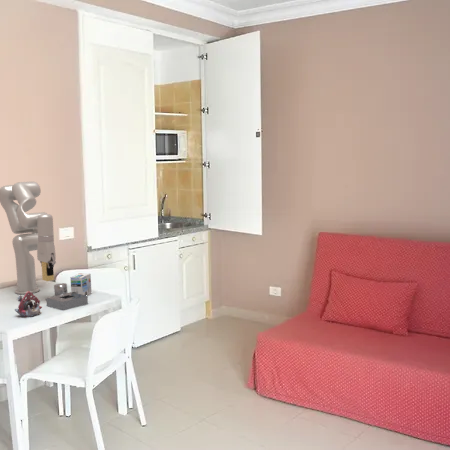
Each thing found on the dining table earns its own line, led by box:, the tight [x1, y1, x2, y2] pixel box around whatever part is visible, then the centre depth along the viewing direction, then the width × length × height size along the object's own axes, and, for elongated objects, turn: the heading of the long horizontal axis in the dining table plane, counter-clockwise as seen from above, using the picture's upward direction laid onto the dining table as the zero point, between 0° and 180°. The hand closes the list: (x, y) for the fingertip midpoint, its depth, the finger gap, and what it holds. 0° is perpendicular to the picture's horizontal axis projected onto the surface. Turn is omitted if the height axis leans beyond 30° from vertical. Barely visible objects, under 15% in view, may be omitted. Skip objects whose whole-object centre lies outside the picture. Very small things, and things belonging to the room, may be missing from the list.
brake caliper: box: [14, 291, 43, 318], centre depth 255 cm, size 11×11×12 cm
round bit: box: [53, 282, 69, 296], centre depth 290 cm, size 6×6×6 cm
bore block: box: [45, 291, 89, 311], centre depth 271 cm, size 14×14×4 cm
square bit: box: [41, 260, 55, 282], centre depth 280 cm, size 4×4×11 cm
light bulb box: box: [69, 273, 92, 296], centre depth 290 cm, size 11×7×11 cm, turn 168°
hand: (47, 274), depth 280 cm, fingers closed on square bit, 4 cm apart
